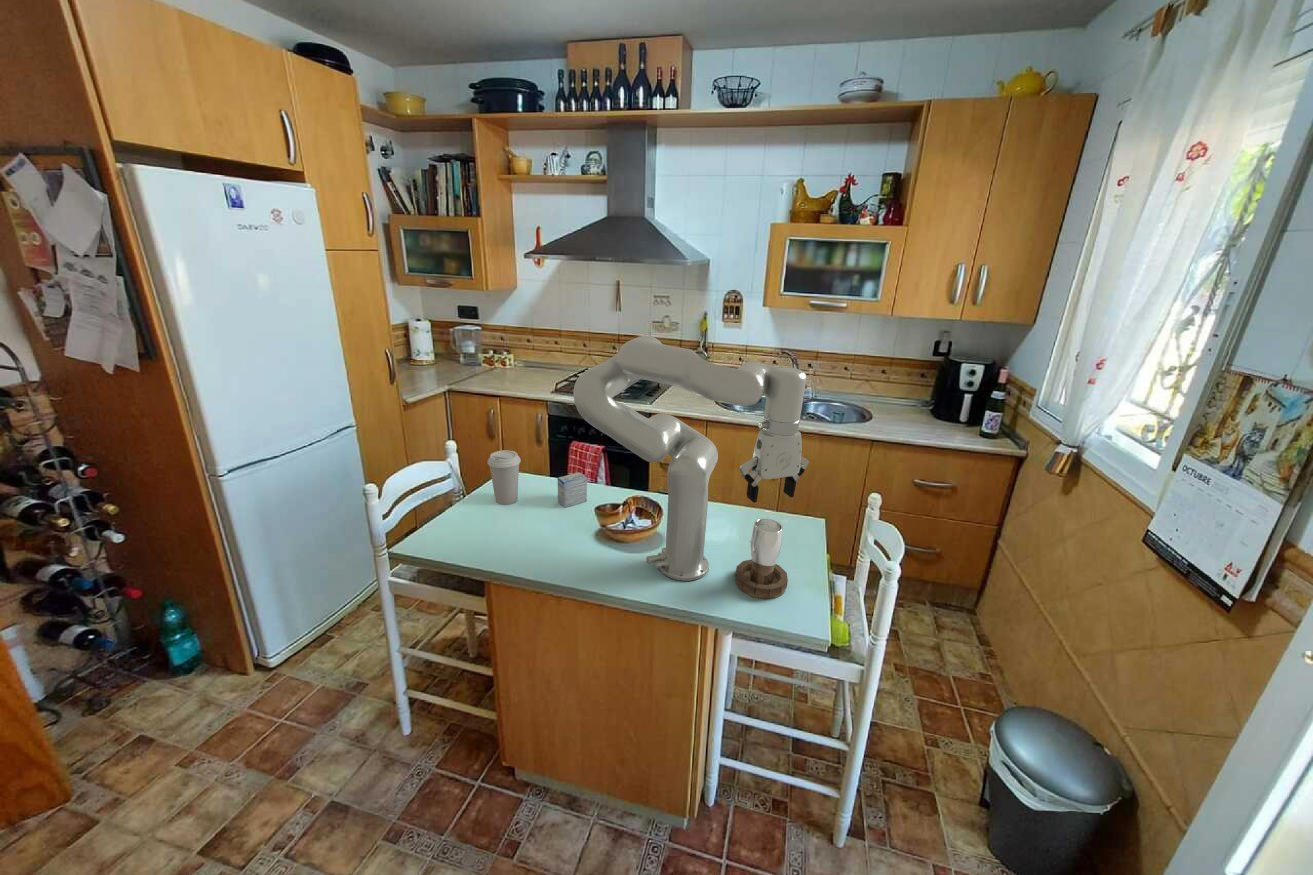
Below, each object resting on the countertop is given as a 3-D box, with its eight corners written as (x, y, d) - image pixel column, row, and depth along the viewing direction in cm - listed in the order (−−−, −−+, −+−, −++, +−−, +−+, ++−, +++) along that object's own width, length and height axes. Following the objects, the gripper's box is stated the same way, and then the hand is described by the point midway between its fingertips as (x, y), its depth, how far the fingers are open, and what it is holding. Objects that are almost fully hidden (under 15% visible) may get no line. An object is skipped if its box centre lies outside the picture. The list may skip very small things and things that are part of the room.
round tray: (751, 603, 117) (753, 593, 116) (726, 573, 127) (727, 563, 127) (796, 593, 121) (797, 583, 120) (768, 565, 132) (769, 555, 131)
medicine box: (579, 496, 164) (579, 471, 161) (587, 501, 160) (587, 476, 157) (557, 503, 159) (556, 477, 156) (564, 508, 156) (564, 482, 153)
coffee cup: (484, 500, 158) (480, 454, 153) (510, 490, 165) (508, 446, 160) (502, 510, 153) (499, 463, 148) (528, 500, 160) (526, 455, 155)
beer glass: (775, 591, 120) (784, 534, 115) (745, 586, 122) (752, 530, 117) (775, 574, 127) (783, 520, 122) (747, 569, 128) (753, 516, 123)
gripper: (755, 434, 104) (745, 509, 110) (824, 428, 111) (812, 500, 116) (736, 422, 111) (728, 494, 117) (803, 417, 117) (792, 486, 123)
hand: (770, 497), depth 117 cm, fingers open, 9 cm apart
